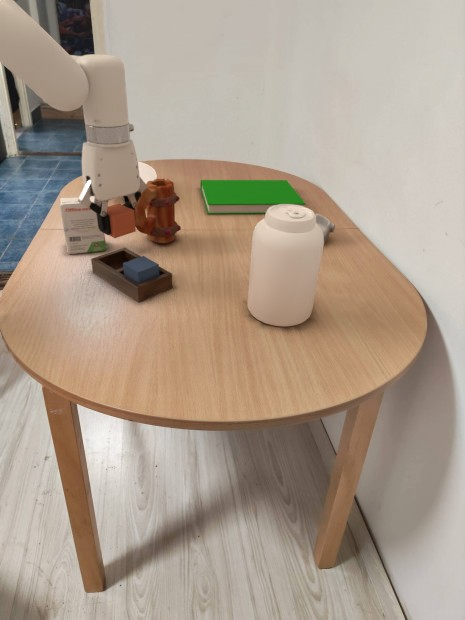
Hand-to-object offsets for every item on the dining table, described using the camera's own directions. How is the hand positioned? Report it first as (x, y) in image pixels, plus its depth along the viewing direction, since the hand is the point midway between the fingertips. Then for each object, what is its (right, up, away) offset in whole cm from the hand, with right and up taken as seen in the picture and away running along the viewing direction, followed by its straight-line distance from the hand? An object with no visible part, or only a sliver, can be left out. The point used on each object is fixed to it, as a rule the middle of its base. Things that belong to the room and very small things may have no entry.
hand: (117, 228), depth 91 cm
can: (+32, -17, -3) cm, 36 cm away
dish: (+40, +2, +26) cm, 48 cm away
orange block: (0, -1, 0) cm, 1 cm away
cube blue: (+5, -11, +1) cm, 12 cm away
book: (+28, +17, +48) cm, 58 cm away
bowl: (-7, +19, +47) cm, 51 cm away
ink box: (-11, -2, +15) cm, 19 cm away
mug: (+4, 0, +19) cm, 20 cm away
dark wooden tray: (+2, -10, +3) cm, 11 cm away
